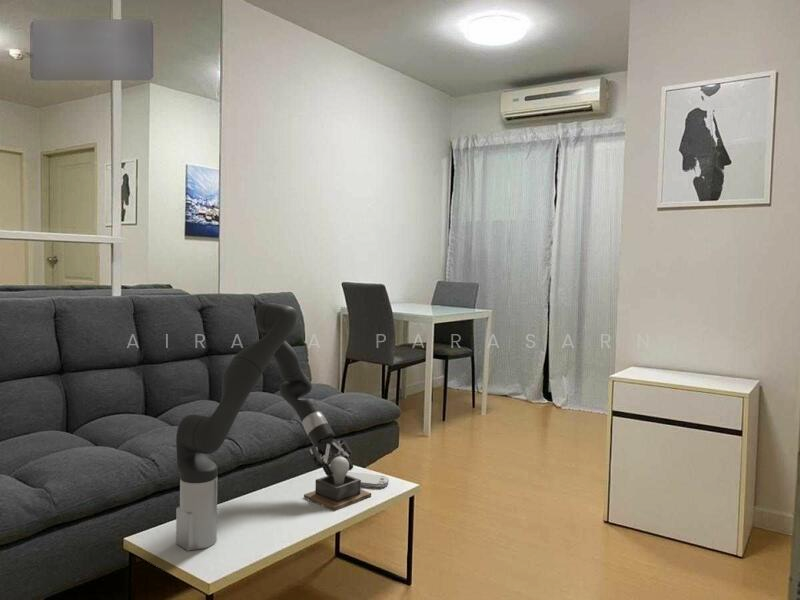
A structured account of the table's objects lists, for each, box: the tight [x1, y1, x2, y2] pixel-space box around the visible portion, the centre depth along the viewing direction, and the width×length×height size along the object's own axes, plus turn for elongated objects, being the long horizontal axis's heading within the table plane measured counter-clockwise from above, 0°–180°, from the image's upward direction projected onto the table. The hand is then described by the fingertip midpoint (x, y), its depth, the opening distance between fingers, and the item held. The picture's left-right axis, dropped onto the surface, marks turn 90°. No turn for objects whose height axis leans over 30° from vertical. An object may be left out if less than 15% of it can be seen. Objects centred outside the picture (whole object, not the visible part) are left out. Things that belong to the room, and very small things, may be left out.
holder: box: [303, 475, 372, 511], centre depth 192 cm, size 16×14×6 cm
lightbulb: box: [329, 456, 349, 486], centre depth 193 cm, size 6×6×11 cm
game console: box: [346, 471, 390, 489], centre depth 206 cm, size 18×2×8 cm
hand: (341, 472), depth 191 cm, fingers open, 8 cm apart
